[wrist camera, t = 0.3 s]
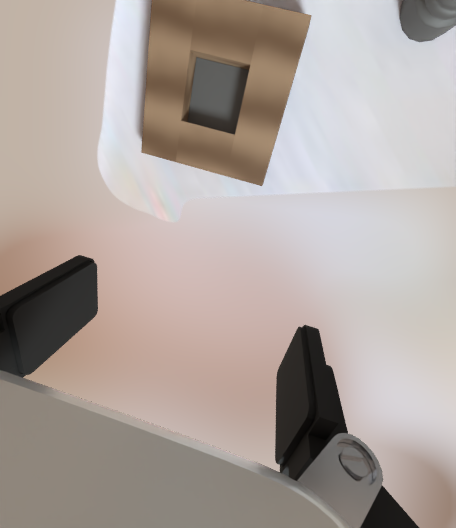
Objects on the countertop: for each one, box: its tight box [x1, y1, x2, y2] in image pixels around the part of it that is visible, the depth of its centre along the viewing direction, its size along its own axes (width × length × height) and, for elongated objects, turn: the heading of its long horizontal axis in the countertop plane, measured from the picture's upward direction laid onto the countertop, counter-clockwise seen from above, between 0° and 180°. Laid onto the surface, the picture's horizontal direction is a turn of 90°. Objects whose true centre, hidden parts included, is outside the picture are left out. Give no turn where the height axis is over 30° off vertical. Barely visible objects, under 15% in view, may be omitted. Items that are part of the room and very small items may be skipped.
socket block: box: [142, 0, 311, 186], centre depth 32 cm, size 18×18×3 cm
